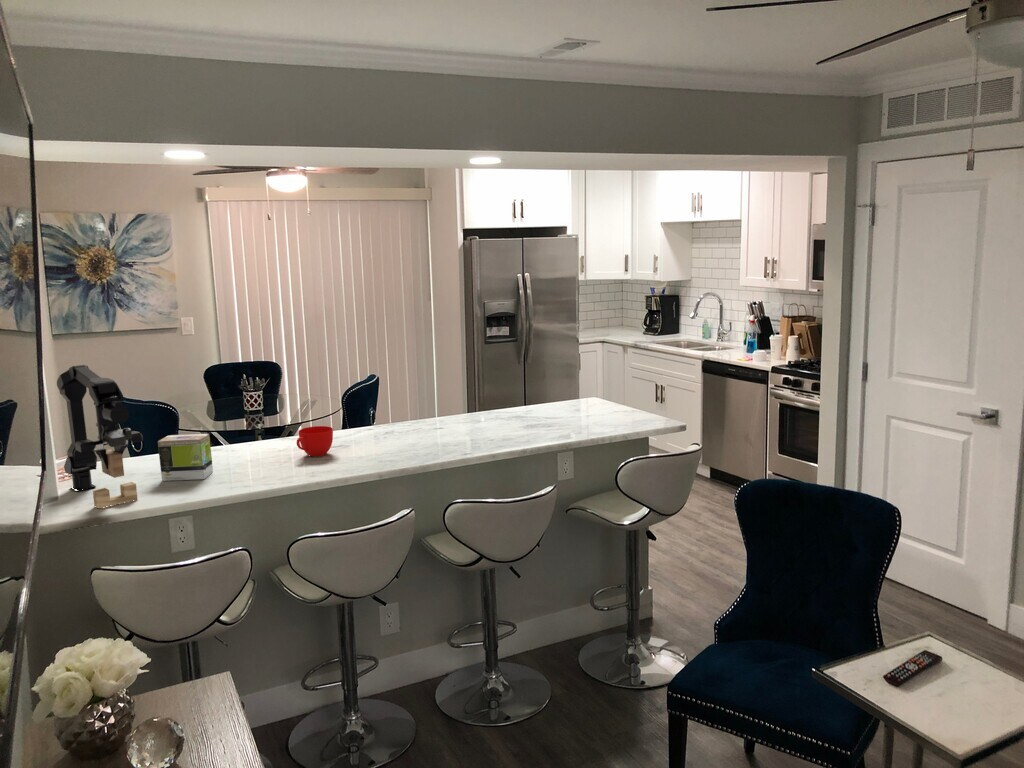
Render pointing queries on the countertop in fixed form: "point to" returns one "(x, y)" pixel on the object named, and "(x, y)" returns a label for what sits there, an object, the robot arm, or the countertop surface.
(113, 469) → the tan wooden beam
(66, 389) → the robot arm
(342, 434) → the countertop surface
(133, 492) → the u-shaped oak block
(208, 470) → the tea box
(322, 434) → the ceramic cup
